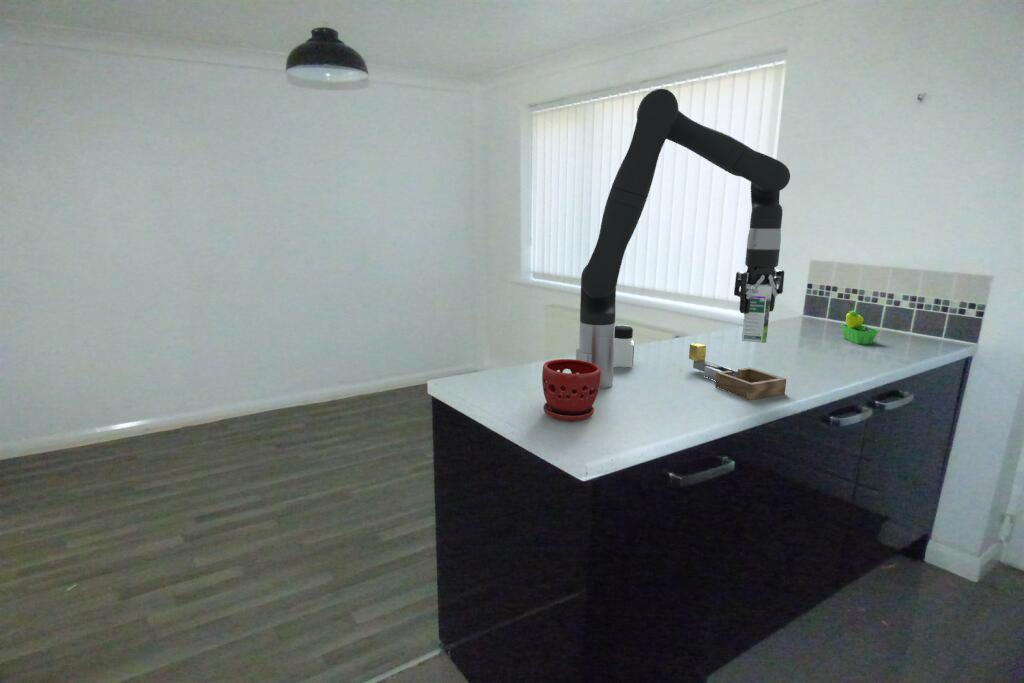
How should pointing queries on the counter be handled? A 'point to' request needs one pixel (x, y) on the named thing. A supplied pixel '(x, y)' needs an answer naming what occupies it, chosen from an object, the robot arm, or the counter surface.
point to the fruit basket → (857, 329)
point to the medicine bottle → (623, 346)
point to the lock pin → (700, 357)
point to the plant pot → (570, 389)
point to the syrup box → (757, 315)
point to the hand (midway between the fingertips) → (756, 312)
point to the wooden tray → (751, 383)
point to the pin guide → (711, 371)
